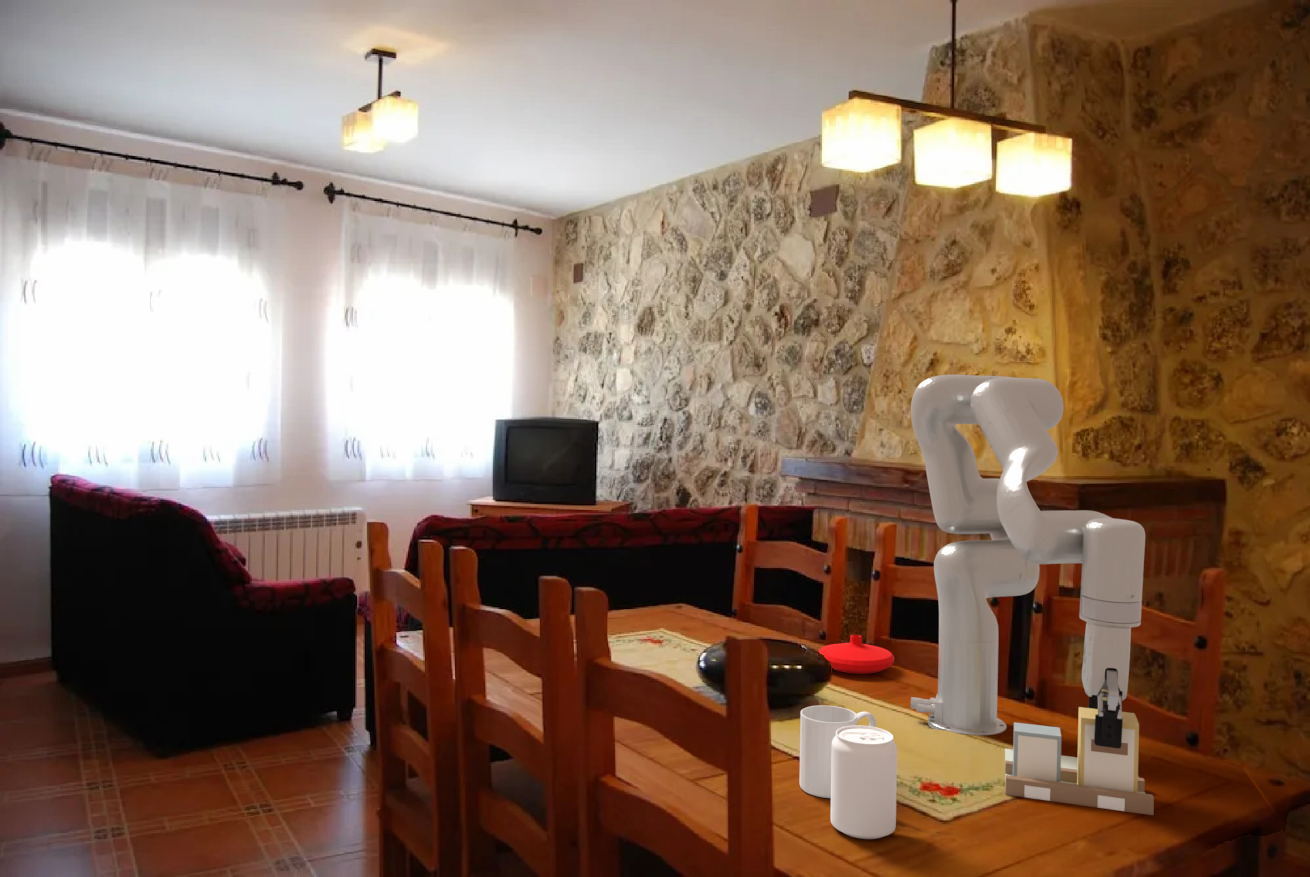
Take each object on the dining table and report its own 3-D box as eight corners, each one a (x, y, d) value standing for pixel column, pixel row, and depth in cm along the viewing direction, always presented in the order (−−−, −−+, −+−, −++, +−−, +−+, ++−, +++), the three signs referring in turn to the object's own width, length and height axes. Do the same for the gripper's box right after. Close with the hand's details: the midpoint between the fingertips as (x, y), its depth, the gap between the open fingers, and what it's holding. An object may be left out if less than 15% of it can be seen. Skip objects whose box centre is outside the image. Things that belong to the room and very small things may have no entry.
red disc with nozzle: (903, 680, 188) (903, 645, 188) (824, 679, 188) (824, 644, 188) (884, 660, 204) (884, 627, 203) (811, 659, 204) (811, 627, 203)
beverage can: (823, 815, 123) (824, 724, 123) (883, 814, 124) (885, 723, 123) (840, 843, 115) (842, 746, 115) (905, 841, 116) (906, 745, 115)
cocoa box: (1013, 788, 130) (1014, 731, 130) (1012, 778, 134) (1013, 722, 134) (1060, 795, 128) (1061, 737, 128) (1058, 784, 132) (1059, 727, 132)
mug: (822, 803, 127) (823, 726, 127) (788, 782, 134) (789, 709, 134) (891, 788, 132) (893, 714, 132) (855, 769, 139) (856, 698, 139)
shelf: (1005, 801, 128) (1005, 778, 128) (1004, 754, 146) (1005, 734, 146) (1153, 823, 122) (1154, 798, 122) (1133, 771, 140) (1134, 749, 140)
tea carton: (1079, 799, 127) (1081, 718, 127) (1076, 785, 132) (1078, 707, 132) (1137, 807, 124) (1139, 724, 124) (1132, 792, 129) (1134, 713, 129)
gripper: (1075, 594, 137) (1069, 709, 138) (1085, 621, 121) (1078, 752, 122) (1132, 599, 135) (1126, 717, 136) (1150, 628, 118) (1143, 761, 119)
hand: (1103, 733), depth 129 cm, fingers open, 9 cm apart
